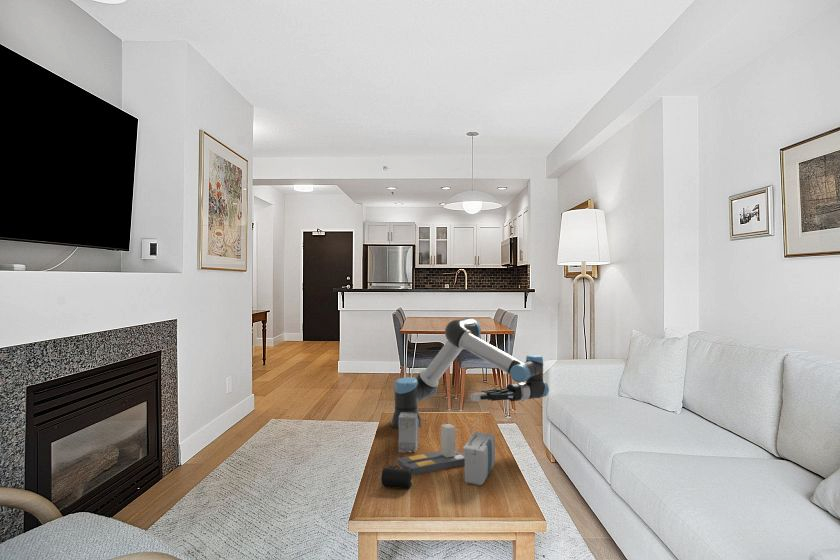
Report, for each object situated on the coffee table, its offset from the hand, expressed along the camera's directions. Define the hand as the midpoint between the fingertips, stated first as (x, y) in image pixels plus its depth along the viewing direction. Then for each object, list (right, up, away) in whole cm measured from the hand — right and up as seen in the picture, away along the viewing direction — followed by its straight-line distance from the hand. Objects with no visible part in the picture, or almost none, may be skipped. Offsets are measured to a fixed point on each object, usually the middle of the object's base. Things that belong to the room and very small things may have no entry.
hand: (472, 397), depth 205 cm
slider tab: (-11, -21, -9) cm, 25 cm away
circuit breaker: (-27, -24, +9) cm, 37 cm away
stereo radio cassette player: (0, -24, -22) cm, 33 cm away
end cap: (-30, -24, -32) cm, 51 cm away
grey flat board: (-17, -24, -12) cm, 32 cm away
